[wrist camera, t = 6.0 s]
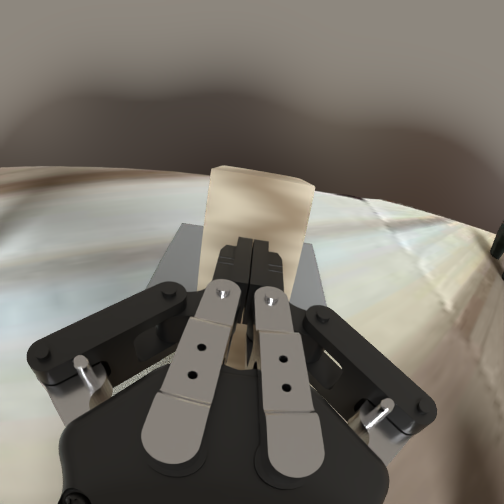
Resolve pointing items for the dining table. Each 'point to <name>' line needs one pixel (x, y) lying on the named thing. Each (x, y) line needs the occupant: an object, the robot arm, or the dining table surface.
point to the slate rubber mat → (188, 259)
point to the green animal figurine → (498, 244)
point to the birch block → (254, 226)
